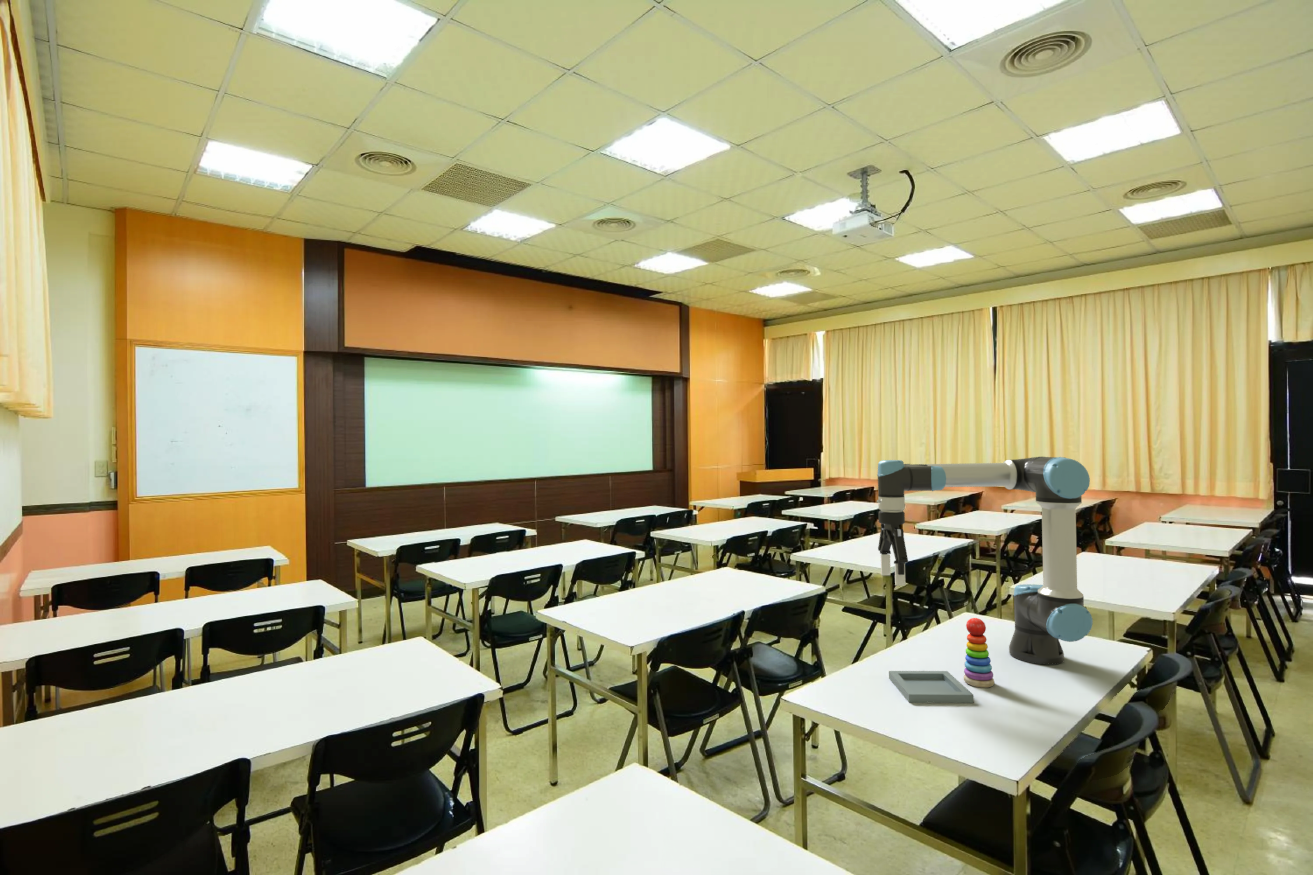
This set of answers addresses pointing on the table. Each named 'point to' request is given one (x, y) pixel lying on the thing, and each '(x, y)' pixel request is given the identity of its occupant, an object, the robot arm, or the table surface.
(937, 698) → the gray square tray
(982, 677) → the stacking toy
